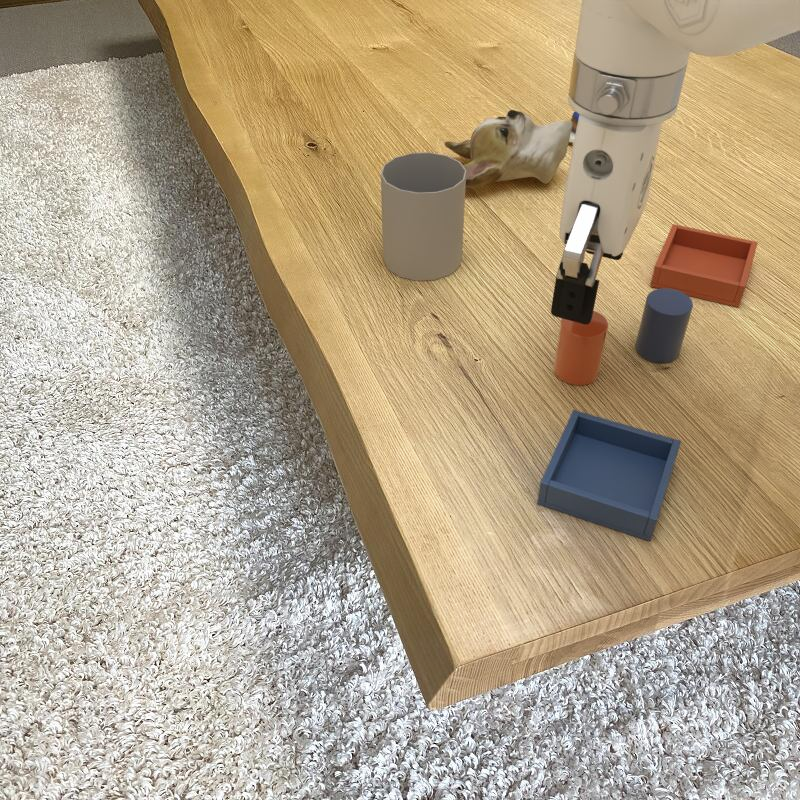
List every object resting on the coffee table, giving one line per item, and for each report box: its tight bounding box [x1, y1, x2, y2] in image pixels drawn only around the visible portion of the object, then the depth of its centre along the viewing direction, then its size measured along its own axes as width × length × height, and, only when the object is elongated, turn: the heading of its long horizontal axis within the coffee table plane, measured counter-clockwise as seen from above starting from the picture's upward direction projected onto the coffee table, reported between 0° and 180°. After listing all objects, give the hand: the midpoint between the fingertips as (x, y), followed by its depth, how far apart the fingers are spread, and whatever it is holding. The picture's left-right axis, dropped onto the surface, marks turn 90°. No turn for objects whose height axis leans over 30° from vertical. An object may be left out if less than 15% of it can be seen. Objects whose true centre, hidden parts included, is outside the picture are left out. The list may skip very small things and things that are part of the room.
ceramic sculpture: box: [443, 109, 572, 189], centre depth 99 cm, size 11×9×15 cm
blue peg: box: [634, 288, 694, 364], centre depth 76 cm, size 4×4×6 cm
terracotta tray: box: [649, 223, 759, 308], centre depth 85 cm, size 9×9×2 cm
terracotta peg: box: [553, 310, 609, 386], centre depth 74 cm, size 4×4×6 cm
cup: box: [380, 151, 466, 282], centre depth 86 cm, size 8×8×10 cm
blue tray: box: [536, 409, 682, 542], centre depth 65 cm, size 9×9×2 cm
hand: (587, 285), depth 69 cm, fingers open, 9 cm apart
